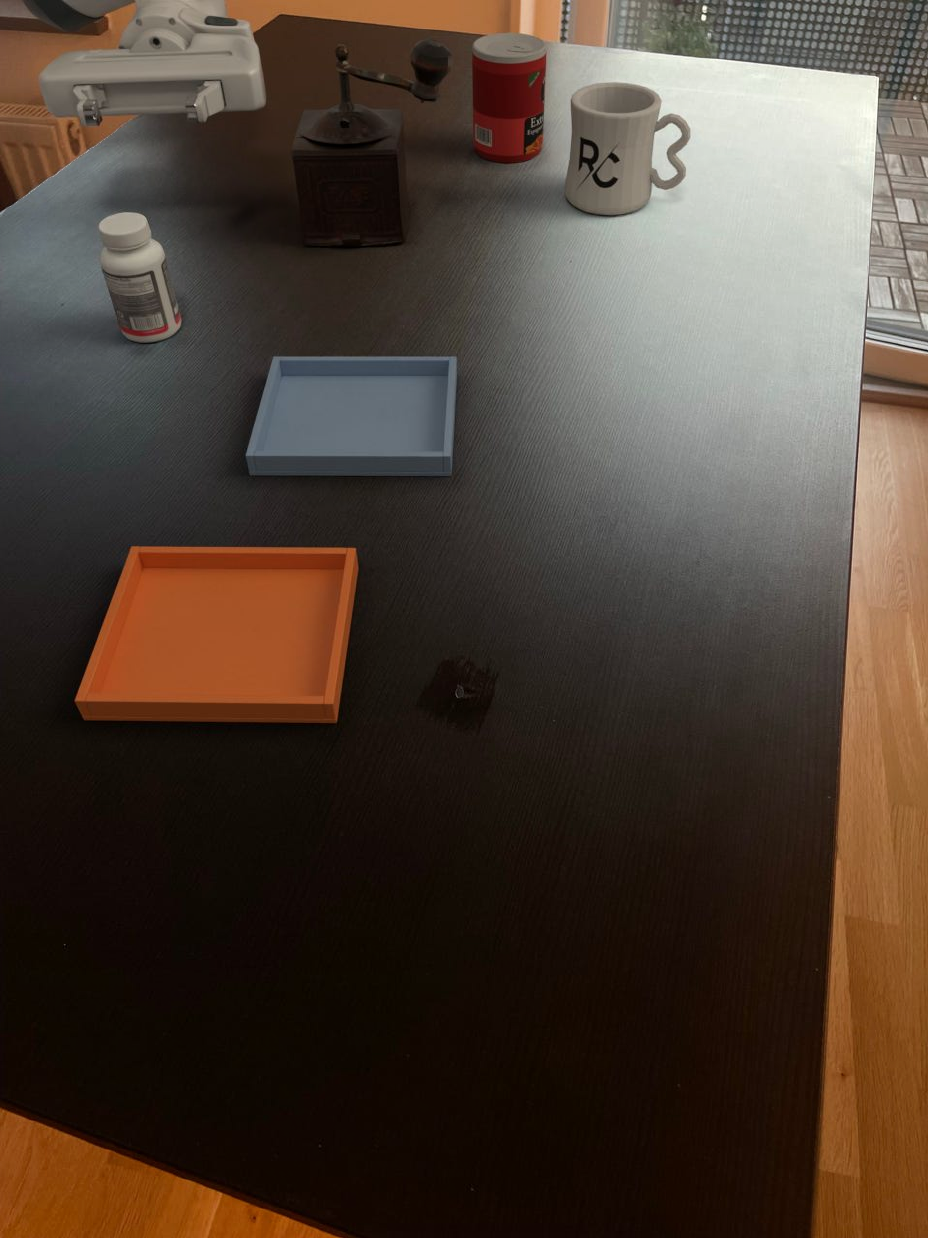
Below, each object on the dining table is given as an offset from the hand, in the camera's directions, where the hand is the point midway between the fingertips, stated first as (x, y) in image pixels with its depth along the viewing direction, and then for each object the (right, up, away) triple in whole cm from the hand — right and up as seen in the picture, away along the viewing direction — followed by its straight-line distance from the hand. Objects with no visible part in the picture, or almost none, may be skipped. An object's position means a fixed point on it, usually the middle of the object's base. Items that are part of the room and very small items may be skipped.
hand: (140, 115), depth 87 cm
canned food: (+33, +9, +27) cm, 44 cm away
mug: (+45, 0, +17) cm, 48 cm away
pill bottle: (0, -18, +2) cm, 18 cm away
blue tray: (+20, -29, -8) cm, 36 cm away
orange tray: (+13, -46, -24) cm, 53 cm away
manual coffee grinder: (+20, -4, +15) cm, 25 cm away
